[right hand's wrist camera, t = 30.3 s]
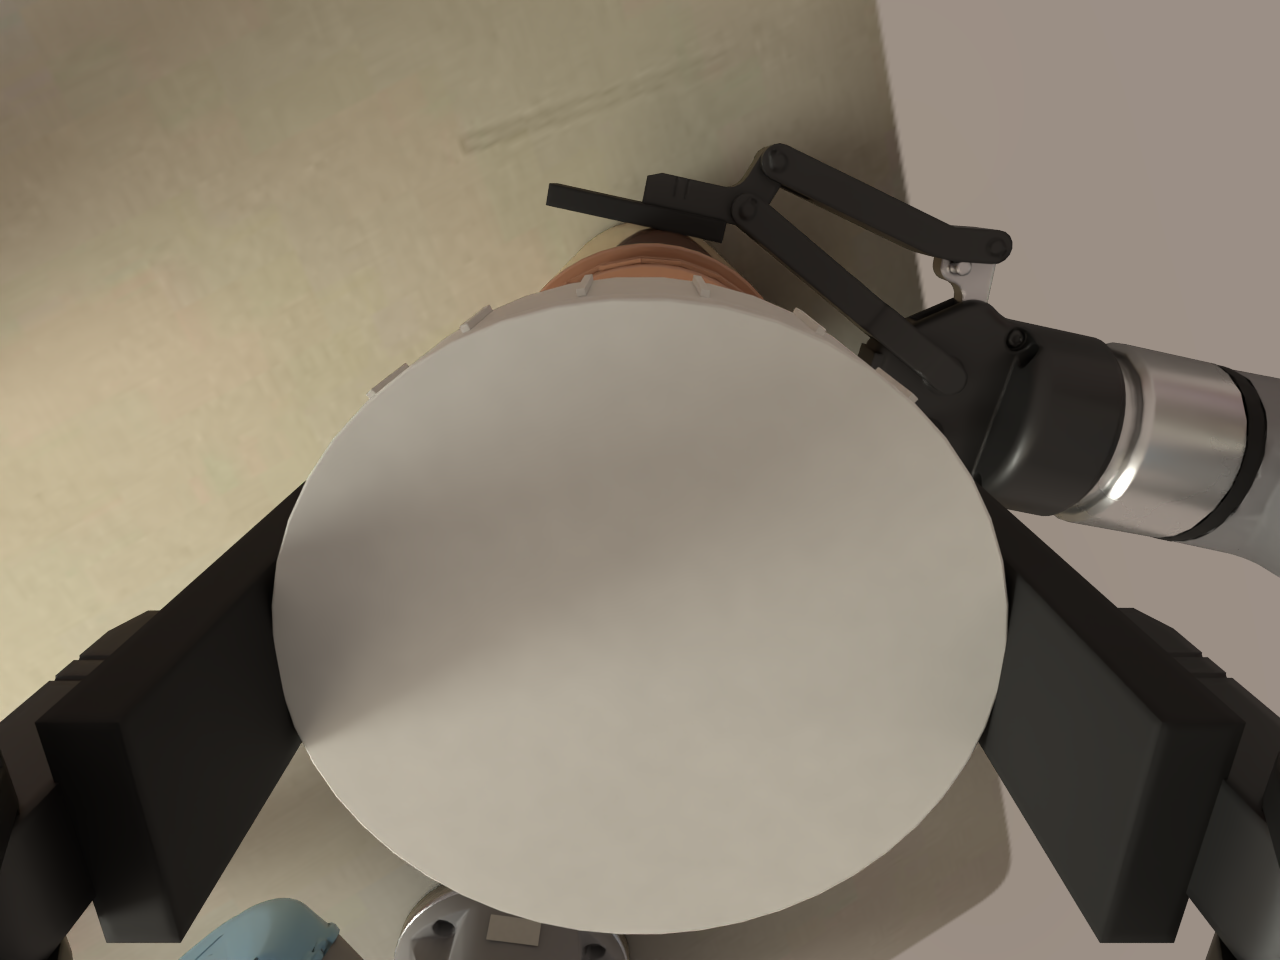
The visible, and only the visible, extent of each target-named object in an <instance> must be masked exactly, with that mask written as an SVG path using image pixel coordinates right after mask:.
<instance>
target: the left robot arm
mask: <svg viewBox="0 0 1280 960" xmlns="http://www.w3.org/2000/svg"><path fill="white" fill-rule="evenodd" d="M779 188H782V189H784V190H786V191H788V192H790V193H792V194H794V195H796V196H798V197H801V198H803V199H805V200H807V201H809V202H811V203H813V204H815V205H817V206H819V207H821V208H823V209H825V210H828V211H830V212H832V213H834V214H836V215H838V216H840V217H842V218H844V219H846V220H848V221H850V222H852V223H855V224H857V225H859V226H861V227H863V228H865V229H867V230H869V231H871V232H873V233H875V234H877V235H879V236H881V237H884V238H886V239H888V240H890V241H892V242H894V243H896V244H898V245H900V246H902V247H904V248H907V249H909V250H912V251H914V252H917V253H921V254H925V255H928V256H932V257H934V260H933V270H934V272H935V274H936V275H937V276H938V277H939V278H941V279H944V280H946V281H948V282H949V283H951V285H952V286H953V289H954V298H951V299H949V300H947V301H944V302H942V303H940V304H937V305H935V306H933V307H931V308H928V309H926V310H923V311H921V312H919V313H916V314H914V315H912V316H909V317H907V318H904V317H902V316H901V315H900V314H899V313H898V312H896V311H895V310H894V309H893V308H891V307H890V306H889V305H887V304H886V303H884V302H883V301H882V300H881V299H880V298H878V297H877V296H876V295H875V294H874V293H872V292H871V291H870V290H869V289H868V288H867V287H865V286H864V285H863V284H862V283H861V282H859V281H858V280H857V279H856V278H855V277H854V276H852V275H851V274H850V273H849V272H848V271H846V270H845V269H844V268H843V267H842V266H841V265H839V264H838V263H837V262H836V261H835V260H834V259H832V258H831V257H830V256H829V255H828V254H826V253H825V252H824V251H823V250H822V249H821V248H819V247H818V246H817V245H816V244H815V243H813V242H812V241H811V240H810V239H809V238H808V237H806V236H805V235H804V234H803V233H802V232H800V231H799V230H798V229H797V228H796V227H795V226H793V225H792V224H791V223H790V222H789V221H788V220H786V219H785V218H784V217H783V216H782V215H780V214H779V213H778V212H777V211H776V210H775V209H773V208H772V207H771V206H770V205H769V204H770V202H771V201H772V199H773V197H774V196H775V194H776V193H777V191H778V190H779ZM546 205H548V206H553V207H557V208H562V209H566V210H571V211H576V212H580V213H585V214H589V215H594V216H599V217H603V218H608V219H612V220H617V221H622V222H626V223H631V224H636V225H640V226H645V227H649V228H654V229H659V230H663V231H668V232H673V233H677V234H682V235H686V236H691V237H695V238H700V239H705V240H709V241H714V242H718V243H722V240H723V236H724V231H725V227H726V223H729V224H734V225H736V226H737V227H738V228H740V229H741V230H742V231H743V232H744V233H746V234H747V235H748V236H749V237H750V238H752V239H753V240H754V241H755V242H756V243H758V244H759V245H760V246H761V247H762V248H764V249H765V250H766V251H767V252H768V253H770V254H771V255H772V256H773V257H774V258H776V259H777V260H778V261H779V262H780V263H782V264H783V265H784V266H785V267H786V268H788V269H789V270H790V271H791V272H793V273H794V274H795V275H796V276H797V277H799V278H800V279H801V280H802V281H803V282H805V283H806V284H807V285H808V286H809V287H811V288H812V289H813V290H814V291H815V292H817V293H818V294H819V295H820V296H821V297H823V298H824V299H825V300H826V301H827V302H829V303H830V304H831V305H832V306H833V307H835V308H836V309H837V310H838V311H839V312H841V313H842V314H843V315H844V316H845V317H847V318H848V319H849V320H850V321H851V322H852V323H853V324H854V325H856V326H857V327H858V328H859V329H861V330H862V331H863V332H864V333H865V334H867V335H868V336H869V337H870V339H869V340H868V342H867V343H866V344H863V343H862V344H861V348H860V351H859V354H858V357H859V358H861V359H862V360H863V361H864V362H866V363H867V364H868V365H869V366H871V367H872V368H873V369H874V370H876V369H877V368H878V367H879V368H881V369H882V370H883V371H884V372H886V373H887V374H888V375H890V376H891V377H892V378H893V379H895V380H896V381H897V382H899V383H900V384H901V385H903V386H904V387H905V388H906V389H908V390H909V391H910V392H912V393H913V394H914V395H915V396H916V397H917V398H918V400H917V401H916V402H915V404H916V405H917V406H918V407H919V408H920V409H921V411H922V412H923V413H924V414H925V415H926V416H927V417H928V418H929V419H930V420H931V422H932V423H933V424H934V425H935V426H936V427H937V428H938V429H939V430H940V431H941V433H942V434H943V435H944V436H945V437H946V438H947V440H948V441H949V443H950V444H951V446H952V447H953V449H954V450H955V452H956V453H957V455H958V456H959V458H960V459H961V461H962V463H963V464H964V466H965V467H966V469H967V470H968V472H969V473H970V475H971V476H972V478H973V480H975V481H976V482H977V483H978V484H979V485H980V486H981V487H982V488H984V489H985V490H986V491H987V492H988V493H989V494H990V495H991V496H993V497H994V498H995V499H996V500H997V501H998V502H999V503H1000V504H1002V505H1003V506H1004V507H1005V508H1006V509H1009V510H1014V511H1019V512H1024V513H1030V514H1035V515H1040V516H1050V515H1055V516H1056V517H1057V518H1059V519H1062V520H1065V521H1068V522H1072V523H1078V524H1083V525H1089V526H1094V527H1100V528H1105V529H1111V530H1116V531H1122V532H1128V533H1133V534H1139V535H1145V536H1150V537H1154V538H1157V539H1162V540H1167V541H1174V542H1179V543H1183V544H1188V545H1193V546H1197V547H1202V548H1206V549H1211V550H1216V551H1220V552H1225V553H1229V554H1233V555H1236V556H1239V557H1243V558H1245V559H1248V560H1250V561H1252V562H1255V563H1257V564H1259V565H1260V566H1262V567H1263V568H1265V569H1267V570H1268V571H1270V572H1272V573H1273V574H1275V575H1277V576H1278V577H1280V379H1279V378H1274V377H1268V376H1263V375H1258V374H1252V373H1247V372H1242V371H1237V370H1232V369H1230V368H1227V367H1224V366H1219V365H1216V364H1213V363H1208V362H1203V361H1199V360H1195V359H1190V358H1185V357H1181V356H1176V355H1172V354H1167V353H1163V352H1158V351H1153V350H1149V349H1145V348H1140V347H1135V346H1131V345H1126V344H1120V343H1108V344H1105V343H1104V342H1102V341H1101V340H1099V339H1097V338H1094V337H1089V336H1085V335H1080V334H1075V333H1070V332H1066V331H1061V330H1057V329H1052V328H1048V327H1043V326H1038V325H1034V324H1029V323H1025V322H1020V321H1015V320H1011V319H1007V318H1005V317H1003V316H1002V315H1000V314H999V313H998V312H997V311H996V310H995V309H994V308H993V307H992V306H991V305H990V304H988V303H987V302H988V297H989V293H990V288H991V284H992V279H993V274H994V270H995V265H996V264H998V263H1000V262H1002V261H1004V260H1005V259H1006V258H1007V257H1008V256H1009V255H1010V253H1011V250H1012V240H1011V237H1010V236H1009V235H1008V234H1007V233H1006V232H1004V231H1000V230H993V229H985V228H978V227H967V226H953V225H949V224H947V223H945V222H943V221H940V220H938V219H937V218H934V217H932V216H930V215H928V214H926V213H924V212H922V211H920V210H918V209H916V208H914V207H912V206H910V205H908V204H906V203H904V202H902V201H900V200H898V199H896V198H894V197H892V196H890V195H888V194H886V193H884V192H882V191H879V190H877V189H875V188H873V187H871V186H869V185H867V184H865V183H863V182H861V181H859V180H857V179H855V178H853V177H851V176H849V175H847V174H845V173H843V172H841V171H839V170H837V169H835V168H833V167H831V166H829V165H826V164H824V163H822V162H820V161H818V160H816V159H814V158H812V157H810V156H808V155H806V154H804V153H802V152H800V151H798V150H796V149H794V148H792V147H790V146H788V145H785V144H781V143H779V144H774V145H770V146H767V147H764V148H762V149H761V150H759V151H758V152H757V154H756V155H755V157H754V160H753V162H752V164H751V165H750V167H749V169H748V170H747V172H746V173H745V175H744V177H743V178H742V179H741V180H740V181H739V182H738V183H737V184H735V185H733V186H730V187H723V186H719V185H714V184H710V183H705V182H701V181H696V180H692V179H687V178H683V177H678V176H674V175H669V174H665V173H659V174H654V175H649V176H647V181H646V186H645V191H644V196H643V201H642V202H640V201H636V200H631V199H626V198H622V197H617V196H613V195H608V194H604V193H599V192H595V191H590V190H585V189H581V188H576V187H572V186H567V185H563V184H558V183H549V189H548V196H547V202H546ZM179 960H363V959H362V957H361V956H360V955H359V954H358V953H357V952H356V951H355V950H354V949H353V948H352V947H351V946H350V945H349V944H348V943H347V942H346V941H345V940H344V939H343V938H342V937H341V936H340V935H339V928H338V927H337V925H336V924H334V923H327V922H325V921H324V920H323V919H322V918H320V917H319V916H318V915H317V914H316V913H314V912H313V911H312V910H311V909H310V908H309V907H307V906H306V905H305V904H304V903H302V902H300V901H298V900H295V899H290V898H277V899H272V900H268V901H265V902H262V903H259V904H257V905H254V906H252V907H250V908H249V909H247V910H245V911H243V912H242V913H240V914H239V915H237V916H235V917H233V918H231V919H230V920H228V921H227V922H225V923H223V924H222V925H221V926H219V927H218V928H217V929H215V930H214V931H213V932H211V933H210V934H209V935H207V936H206V937H205V938H204V939H202V940H201V941H200V942H199V943H198V944H196V945H195V946H194V947H193V948H191V949H190V950H189V951H188V952H187V953H186V954H184V955H183V956H182V957H181V958H180V959H179ZM394 960H629V949H628V944H627V940H626V937H625V934H614V933H603V932H593V931H582V930H576V929H570V928H565V927H560V926H555V925H550V924H545V923H540V922H536V921H533V920H529V919H526V918H523V917H519V916H516V915H513V914H509V913H506V912H503V911H500V910H497V909H495V908H492V907H490V906H487V905H485V904H483V903H480V902H478V901H475V900H473V899H471V898H468V897H466V896H463V895H461V894H459V893H458V892H456V891H454V890H452V889H450V888H448V887H446V886H445V885H441V886H439V887H437V888H436V889H434V890H433V891H431V892H430V893H429V894H427V895H426V896H425V897H424V898H423V899H421V900H420V901H419V902H418V903H417V905H416V906H415V907H414V908H413V909H412V911H411V912H410V914H409V915H408V917H407V919H406V921H405V923H404V925H403V928H402V931H401V934H400V937H399V940H398V943H397V946H396V950H395V954H394Z"/></svg>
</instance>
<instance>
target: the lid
mask: <svg viewBox="0 0 1280 960" xmlns="http://www.w3.org/2000/svg"><path fill="white" fill-rule="evenodd" d="M366 395H367V396H368V397H369V398H370V399H369V400H368V401H366V403H365V404H364V405H363V406H362V407H361V408H360V409H359V410H358V411H357V413H356V414H355V415H354V416H353V417H352V418H351V419H350V420H349V421H348V423H347V424H346V425H345V426H344V427H343V428H342V429H341V430H340V431H339V433H338V434H337V435H336V436H335V437H334V438H333V440H332V441H331V443H330V444H329V446H328V447H327V449H326V450H325V452H324V453H323V455H322V456H321V458H320V459H319V461H318V462H317V464H316V465H315V467H314V468H313V470H312V472H311V473H310V475H309V476H308V478H307V480H306V482H305V484H304V486H303V489H302V491H301V493H300V495H299V497H298V500H297V502H296V504H295V506H294V508H293V510H292V513H291V515H290V517H289V519H288V523H287V526H286V530H285V534H284V537H283V541H282V544H281V548H280V552H279V555H278V559H277V563H276V572H275V580H274V589H273V598H272V627H273V638H274V644H275V650H276V655H277V661H278V666H279V671H280V677H281V682H282V687H283V692H284V696H285V701H286V704H287V707H288V710H289V713H290V715H291V718H292V721H293V724H294V727H295V729H296V731H297V733H298V735H299V737H300V739H301V741H302V743H303V744H304V746H305V748H306V750H307V752H308V754H309V756H310V758H311V760H312V762H313V764H314V765H315V767H316V768H317V769H318V771H319V772H320V774H321V775H322V777H323V778H324V780H325V781H326V782H327V784H328V785H329V787H330V788H331V790H332V791H333V793H334V794H335V795H336V797H337V798H338V799H339V800H340V801H341V802H342V803H343V804H344V806H345V807H346V808H347V809H348V810H349V811H350V812H351V813H352V814H353V816H354V817H355V818H356V819H357V820H358V821H359V822H360V823H361V824H362V826H363V827H365V828H366V829H367V830H368V831H369V832H370V833H371V834H373V835H374V836H375V837H376V838H377V839H378V840H379V841H381V842H382V843H383V844H384V845H385V846H386V847H387V848H389V849H390V850H391V851H392V852H393V853H394V854H396V855H397V856H399V857H400V858H402V859H403V860H405V861H406V862H407V863H409V864H410V865H412V866H413V867H415V868H416V869H418V870H419V871H420V872H422V873H423V874H425V875H426V876H428V877H430V878H432V879H434V880H435V881H437V882H439V883H441V884H443V885H445V886H446V887H448V888H450V889H452V890H454V891H456V892H458V893H459V894H461V895H463V896H466V897H468V898H471V899H473V900H475V901H478V902H480V903H483V904H485V905H487V906H490V907H492V908H495V909H497V910H500V911H503V912H506V913H509V914H513V915H516V916H519V917H523V918H526V919H529V920H533V921H536V922H540V923H545V924H550V925H555V926H560V927H565V928H570V929H576V930H582V931H593V932H603V933H614V934H667V933H677V932H688V931H698V930H705V929H710V928H715V927H720V926H725V925H730V924H735V923H741V922H744V921H748V920H751V919H754V918H758V917H761V916H764V915H768V914H771V913H774V912H778V911H781V910H783V909H786V908H788V907H790V906H793V905H795V904H798V903H800V902H803V901H805V900H807V899H810V898H812V897H815V896H817V895H819V894H821V893H823V892H825V891H826V890H828V889H830V888H832V887H834V886H836V885H838V884H839V883H841V882H843V881H845V880H847V879H849V878H850V877H852V876H854V875H856V874H857V873H858V872H860V871H861V870H863V869H864V868H866V867H867V866H868V865H870V864H871V863H873V862H874V861H876V860H877V859H879V858H880V857H881V856H883V855H884V854H886V853H887V852H888V851H889V850H891V849H892V848H893V847H894V846H895V845H896V844H897V843H899V842H900V841H901V840H902V839H903V838H904V837H905V836H907V835H908V834H909V833H910V832H911V831H912V830H913V829H915V828H916V827H917V826H918V825H919V824H920V823H921V821H922V820H923V819H924V818H925V817H926V816H927V815H928V814H929V813H930V811H931V810H932V809H933V808H934V807H935V806H936V805H937V804H938V802H939V801H940V800H941V799H942V798H943V797H944V796H945V794H946V793H947V791H948V790H949V789H950V787H951V786H952V784H953V783H954V781H955V780H956V778H957V777H958V776H959V774H960V773H961V771H962V770H963V768H964V767H965V765H966V764H967V762H968V761H969V759H970V757H971V755H972V753H973V751H974V749H975V747H976V745H977V743H978V741H979V739H980V737H981V735H982V733H983V731H984V729H985V727H986V725H987V722H988V719H989V716H990V713H991V710H992V707H993V704H994V701H995V699H996V694H997V690H998V685H999V680H1000V675H1001V669H1002V664H1003V659H1004V653H1005V648H1006V642H1007V629H1008V597H1007V589H1006V580H1005V572H1004V563H1003V559H1002V555H1001V552H1000V548H999V544H998V541H997V537H996V534H995V530H994V527H993V523H992V520H991V517H990V515H989V513H988V511H987V508H986V506H985V504H984V502H983V500H982V497H981V495H980V493H979V491H978V489H977V487H976V484H975V482H974V480H973V478H972V476H971V475H970V473H969V472H968V470H967V469H966V467H965V466H964V464H963V463H962V461H961V459H960V458H959V456H958V455H957V453H956V452H955V450H954V449H953V447H952V446H951V444H950V443H949V441H948V440H947V438H946V437H945V436H944V435H943V434H942V433H941V431H940V430H939V429H938V428H937V427H936V426H935V425H934V424H933V423H932V422H931V420H930V419H929V418H928V417H927V416H926V415H925V414H924V413H923V412H922V411H921V409H920V408H919V407H918V406H917V405H916V404H915V402H916V401H917V400H918V398H917V397H916V396H915V395H914V394H913V393H912V392H910V391H909V390H908V389H906V388H905V387H904V386H903V385H901V384H900V383H899V382H897V381H896V380H895V379H893V378H892V377H891V376H890V375H888V374H887V373H886V372H884V371H883V370H882V369H881V368H879V367H878V368H877V369H876V370H874V369H873V368H872V367H871V366H869V365H868V364H867V363H866V362H864V361H863V360H862V359H861V358H859V357H858V356H857V355H856V354H854V353H853V352H852V351H851V350H849V349H848V348H847V347H846V346H844V345H843V344H842V343H841V342H839V341H838V340H837V339H836V338H834V337H833V336H831V335H830V334H828V333H826V329H825V328H824V327H822V326H821V325H820V324H819V323H817V322H816V321H815V320H814V319H812V318H811V317H810V316H808V315H807V314H806V313H805V312H803V311H802V310H800V309H798V308H795V309H794V311H793V312H790V311H788V310H786V309H783V308H781V307H779V306H776V305H774V304H772V303H769V302H767V301H765V300H762V299H760V298H758V297H755V296H753V295H749V294H746V293H742V292H738V291H735V290H731V289H727V288H724V287H720V286H716V285H713V284H709V283H705V281H704V280H703V278H702V277H701V276H697V275H693V280H692V281H687V280H679V279H672V278H665V277H615V278H608V279H600V280H593V275H592V274H589V275H585V276H584V277H583V279H582V281H581V282H578V283H571V284H567V285H563V286H560V287H556V288H553V289H549V290H545V291H542V292H538V293H535V294H531V295H527V296H525V297H522V298H520V299H518V300H515V301H513V302H511V303H508V304H506V305H504V306H501V307H499V308H497V309H494V310H492V308H491V306H490V305H488V306H486V307H484V308H482V309H481V310H480V311H478V312H477V313H476V314H475V315H473V316H472V317H471V318H470V319H468V320H467V321H466V322H464V323H463V324H462V325H461V326H460V329H459V330H457V331H455V332H454V333H452V334H450V335H449V336H447V337H446V338H444V339H443V340H442V341H441V342H439V343H438V344H437V345H436V346H434V347H433V348H432V349H431V350H429V351H428V352H427V353H425V354H424V355H423V356H422V357H420V358H419V359H418V360H417V361H415V362H414V363H413V364H412V365H410V366H408V365H407V364H406V363H405V364H404V365H402V366H401V367H400V368H398V369H397V370H396V371H394V372H393V373H392V374H390V375H389V376H388V377H387V378H385V379H384V380H383V381H381V382H380V383H379V384H377V385H376V386H375V387H373V388H372V389H371V390H370V391H369V392H368V393H367V394H366Z"/></svg>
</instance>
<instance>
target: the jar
mask: <svg viewBox="0 0 1280 960" xmlns="http://www.w3.org/2000/svg"><path fill="white" fill-rule="evenodd" d="M589 274H592V275H593V280H600V279H608V278H615V277H665V278H672V279H679V280H687V281H692V280H693V275H697V276H701V277H702V278H703V280H704V281H705V283H709V284H713V285H716V286H720V287H724V288H727V289H731V290H735V291H738V292H742V293H746V294H749V295H753V296H755V297H758V298H760V299H762V300H764V299H763V297H762V296H761V295H760V294H759V293H758V292H757V291H756V290H755V289H754V287H753V286H752V285H751V284H750V283H749V282H748V281H747V280H746V279H745V278H744V277H743V276H741V275H740V274H739V273H738V272H737V271H736V270H735V269H734V268H733V267H732V266H731V265H730V264H729V263H728V262H727V261H726V260H725V259H723V258H722V257H721V256H720V255H719V254H718V253H717V252H716V251H715V250H714V249H713V248H712V247H711V246H710V245H709V244H707V243H706V242H705V241H704V240H702V239H700V238H695V237H691V236H686V235H682V234H677V233H673V232H668V231H663V230H659V229H654V228H649V227H645V226H640V225H636V224H631V223H624V224H620V225H617V226H614V227H612V228H610V229H607V230H605V231H604V232H602V233H600V234H599V235H597V236H595V237H594V238H593V239H592V240H590V241H589V242H588V243H587V244H585V246H584V247H583V248H582V249H581V250H580V251H579V252H578V253H577V254H576V255H575V256H574V257H573V258H572V259H571V260H570V261H569V262H568V263H567V264H566V265H565V266H564V267H563V268H562V269H561V270H560V271H559V272H558V273H557V274H556V275H555V276H554V277H553V278H552V279H551V280H550V281H549V282H548V283H547V284H546V285H545V287H544V288H543V289H542V290H541V291H540V292H542V291H545V290H549V289H553V288H556V287H560V286H563V285H567V284H571V283H578V282H581V281H582V279H583V277H584V276H585V275H589Z"/></svg>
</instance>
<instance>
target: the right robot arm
mask: <svg viewBox="0 0 1280 960" xmlns="http://www.w3.org/2000/svg"><path fill="white" fill-rule="evenodd" d="M305 482H306V481H305ZM305 482H304V483H303V484H301V485H300V486H299V487H298V488H297V489H296V490H295V491H294V492H292V493H291V494H290V495H289V496H288V497H287V498H286V499H285V500H283V501H282V502H281V503H280V504H279V505H278V506H277V507H276V508H275V509H273V510H272V511H271V512H270V513H269V514H268V515H267V516H266V517H264V518H263V519H262V520H261V521H260V522H259V523H258V524H257V525H255V526H254V527H253V528H252V529H251V530H250V531H249V532H248V533H246V534H245V535H244V536H243V537H242V538H241V539H240V540H239V541H238V542H236V543H235V544H234V545H233V546H232V547H231V548H230V549H229V550H227V551H226V552H225V553H224V554H223V555H222V556H221V557H220V558H218V559H217V560H216V561H215V562H214V563H213V564H212V565H211V566H209V567H208V568H207V569H206V570H205V571H204V572H203V573H202V574H200V575H199V576H198V577H197V578H196V579H195V580H194V581H193V582H192V583H190V584H189V585H188V586H187V587H186V588H185V589H184V590H183V591H181V592H180V593H179V594H178V595H177V596H176V597H175V598H174V599H172V600H171V601H170V602H169V603H168V604H167V605H166V606H165V607H163V608H162V609H161V610H160V611H146V612H144V613H143V614H141V615H139V616H137V617H135V618H133V619H131V620H129V621H127V622H125V623H123V624H121V625H119V626H117V627H115V628H113V629H112V630H110V631H108V632H107V633H106V634H104V635H103V636H102V637H101V638H100V639H98V640H97V641H96V642H95V643H94V644H92V645H91V646H90V647H89V648H88V649H87V650H85V651H84V652H83V653H82V654H81V655H80V658H79V660H73V661H72V662H71V663H70V664H69V665H68V666H66V667H65V668H64V669H63V670H62V671H60V672H59V673H58V674H57V675H56V679H55V681H49V682H47V683H46V684H45V685H44V686H43V687H41V688H40V689H39V690H38V691H37V692H36V693H34V694H33V695H32V696H31V697H30V698H28V699H27V700H26V701H25V702H24V703H23V704H21V705H20V706H19V707H18V708H17V709H15V710H14V711H13V712H12V713H11V714H9V715H8V716H7V717H6V718H5V719H4V720H2V721H1V722H0V960H73V957H72V951H71V948H70V945H69V943H68V940H67V937H66V934H67V933H68V932H69V931H70V929H71V928H72V927H73V925H74V924H75V923H76V921H77V920H78V919H79V917H80V916H81V915H82V914H83V912H84V911H85V910H86V908H87V907H88V906H89V904H90V903H91V902H92V900H93V903H94V906H95V909H96V912H97V915H98V918H99V921H100V924H101V927H102V930H103V933H104V936H105V939H106V942H107V943H181V941H182V940H183V938H184V936H185V935H186V933H187V931H188V930H189V928H190V926H191V925H192V923H193V921H194V920H195V918H196V916H197V915H198V913H199V911H200V910H201V908H202V906H203V905H204V903H205V901H206V900H207V898H208V897H209V895H210V893H211V892H212V890H213V888H214V887H215V885H216V883H217V882H218V880H219V878H220V877H221V875H222V873H223V872H224V870H225V868H226V867H227V865H228V863H229V862H230V860H231V858H232V857H233V855H234V854H235V852H236V850H237V849H238V847H239V845H240V844H241V842H242V840H243V839H244V837H245V835H246V834H247V832H248V830H249V829H250V827H251V825H252V824H253V822H254V820H255V819H256V817H257V815H258V814H259V812H260V810H261V809H262V807H263V806H264V804H265V802H266V801H267V799H268V797H269V796H270V794H271V792H272V791H273V789H274V787H275V786H276V784H277V782H278V781H279V779H280V777H281V776H282V774H283V772H284V771H285V769H286V767H287V766H288V764H289V763H290V761H291V759H292V758H293V756H294V754H295V753H296V751H297V749H298V748H299V746H300V744H301V743H302V741H301V739H300V737H299V735H298V733H297V731H296V729H295V727H294V724H293V721H292V718H291V715H290V713H289V710H288V707H287V704H286V701H285V696H284V692H283V687H282V682H281V677H280V671H279V666H278V661H277V655H276V650H275V644H274V638H273V627H272V598H273V589H274V580H275V572H276V563H277V559H278V555H279V552H280V548H281V544H282V541H283V537H284V534H285V530H286V526H287V523H288V519H289V517H290V515H291V513H292V510H293V508H294V506H295V504H296V502H297V500H298V497H299V495H300V493H301V491H302V489H303V486H304V484H305ZM974 482H975V484H976V487H977V489H978V491H979V493H980V495H981V497H982V500H983V502H984V504H985V506H986V508H987V511H988V513H989V515H990V517H991V520H992V523H993V527H994V530H995V534H996V537H997V541H998V544H999V548H1000V552H1001V555H1002V559H1003V563H1004V572H1005V580H1006V589H1007V597H1008V629H1007V642H1006V648H1005V653H1004V659H1003V664H1002V669H1001V675H1000V680H999V685H998V690H997V694H996V699H995V701H994V704H993V707H992V710H991V713H990V716H989V719H988V722H987V725H986V727H985V729H984V731H983V733H982V735H981V737H980V739H979V741H978V742H979V743H980V745H981V747H982V748H983V750H984V752H985V753H986V755H987V757H988V758H989V760H990V762H991V763H992V765H993V767H994V768H995V770H996V772H997V773H998V775H999V777H1000V778H1001V780H1002V782H1003V783H1004V785H1005V786H1006V788H1007V790H1008V791H1009V793H1010V795H1011V796H1012V798H1013V800H1014V801H1015V803H1016V805H1017V806H1018V808H1019V810H1020V811H1021V813H1022V815H1023V816H1024V818H1025V820H1026V821H1027V823H1028V824H1029V826H1030V828H1031V829H1032V831H1033V833H1034V834H1035V836H1036V838H1037V839H1038V841H1039V843H1040V844H1041V846H1042V848H1043V849H1044V851H1045V853H1046V854H1047V856H1048V858H1049V859H1050V861H1051V862H1052V864H1053V866H1054V867H1055V869H1056V871H1057V873H1058V874H1059V876H1060V877H1061V879H1062V881H1063V882H1064V884H1065V886H1066V887H1067V889H1068V891H1069V892H1070V894H1071V896H1072V897H1073V899H1074V901H1075V902H1076V904H1077V906H1078V907H1079V909H1080V911H1081V912H1082V914H1083V916H1084V917H1085V919H1086V920H1087V922H1088V924H1089V925H1090V927H1091V929H1092V930H1093V932H1094V934H1095V935H1096V937H1097V939H1098V940H1099V942H1100V943H1174V941H1175V938H1176V935H1177V932H1178V929H1179V926H1180V923H1181V920H1182V917H1183V914H1184V911H1185V908H1186V905H1187V902H1188V899H1189V898H1190V899H1191V901H1192V902H1193V903H1194V904H1195V906H1196V907H1197V908H1198V910H1199V911H1200V912H1201V914H1202V915H1203V916H1204V917H1205V919H1206V920H1207V921H1208V923H1209V924H1210V925H1211V927H1212V928H1213V929H1214V930H1215V934H1214V937H1213V940H1212V943H1211V945H1210V948H1209V951H1208V954H1207V957H1206V960H1280V717H1278V716H1277V715H1276V714H1275V713H1274V712H1272V711H1271V710H1270V709H1269V708H1268V707H1266V706H1265V705H1264V704H1263V703H1262V702H1260V701H1259V700H1258V699H1257V698H1256V697H1254V696H1253V695H1252V694H1251V693H1250V692H1249V691H1247V690H1246V689H1245V688H1244V687H1242V686H1241V685H1240V684H1239V683H1238V682H1237V681H1235V680H1234V679H1233V678H1227V677H1226V672H1225V671H1223V670H1222V669H1221V668H1220V667H1219V666H1217V665H1216V664H1215V663H1214V662H1213V661H1211V660H1210V659H1209V658H1208V657H1202V652H1201V651H1199V650H1198V649H1197V648H1196V647H1195V646H1194V645H1192V644H1191V643H1190V642H1189V641H1187V640H1186V639H1185V638H1184V637H1183V636H1182V635H1180V634H1179V633H1178V632H1177V631H1176V630H1174V629H1173V628H1171V627H1169V626H1167V625H1165V624H1163V623H1162V622H1160V621H1158V620H1156V619H1154V618H1152V617H1150V616H1148V615H1146V614H1144V613H1142V612H1140V611H1138V610H1136V609H1134V608H1117V607H1116V606H1115V605H1114V604H1113V603H1111V602H1110V601H1109V600H1108V599H1107V598H1106V597H1105V596H1104V595H1103V594H1101V593H1100V592H1099V591H1098V590H1097V589H1096V588H1095V587H1094V586H1092V585H1091V584H1090V583H1089V582H1088V581H1087V580H1086V579H1085V578H1083V577H1082V576H1081V575H1080V574H1079V573H1078V572H1077V571H1076V570H1074V569H1073V568H1072V567H1071V566H1070V565H1069V564H1068V563H1067V562H1065V561H1064V560H1063V559H1062V558H1061V557H1060V556H1059V555H1058V554H1057V553H1055V552H1054V551H1053V550H1052V549H1051V548H1050V547H1049V546H1048V545H1046V544H1045V543H1044V542H1043V541H1042V540H1041V539H1040V538H1039V537H1037V536H1036V535H1035V534H1034V533H1033V532H1032V531H1031V530H1030V529H1028V528H1027V527H1026V526H1025V525H1024V524H1023V523H1022V522H1021V521H1019V520H1018V519H1017V518H1016V517H1015V516H1014V515H1013V514H1012V513H1010V512H1009V511H1008V510H1007V509H1006V508H1005V507H1004V506H1003V505H1002V504H1000V503H999V502H998V501H997V500H996V499H995V498H994V497H993V496H991V495H990V494H989V493H988V492H987V491H986V490H985V489H984V488H982V487H981V486H980V485H979V484H978V483H977V482H976V481H975V480H974Z"/></svg>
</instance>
